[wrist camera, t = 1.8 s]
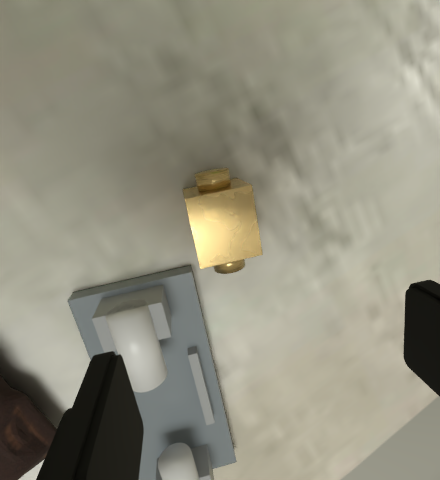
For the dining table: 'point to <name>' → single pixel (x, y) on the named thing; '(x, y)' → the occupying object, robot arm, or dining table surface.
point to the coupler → (222, 220)
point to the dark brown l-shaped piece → (21, 433)
